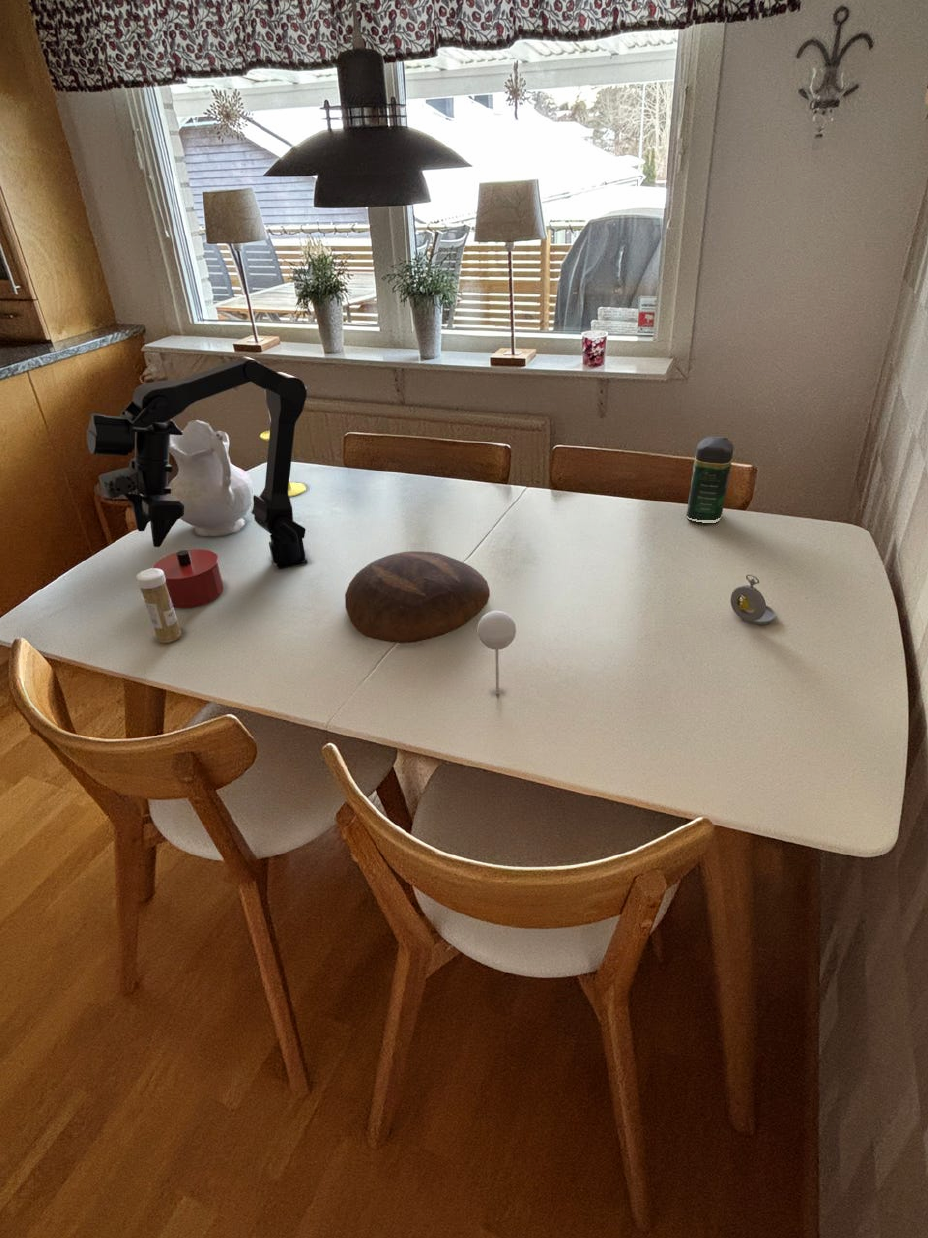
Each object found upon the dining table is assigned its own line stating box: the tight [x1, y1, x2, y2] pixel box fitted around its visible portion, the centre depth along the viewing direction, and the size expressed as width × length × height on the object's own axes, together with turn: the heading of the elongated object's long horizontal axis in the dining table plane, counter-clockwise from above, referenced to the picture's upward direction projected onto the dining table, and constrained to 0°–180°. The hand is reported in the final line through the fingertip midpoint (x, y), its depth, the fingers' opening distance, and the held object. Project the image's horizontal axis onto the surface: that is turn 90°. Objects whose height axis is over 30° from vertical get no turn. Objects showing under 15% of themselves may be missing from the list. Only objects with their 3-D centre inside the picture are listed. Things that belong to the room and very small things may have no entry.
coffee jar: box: [686, 435, 734, 526], centre depth 163 cm, size 10×8×19 cm
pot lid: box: [152, 548, 220, 581], centre depth 143 cm, size 13×13×4 cm
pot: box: [166, 563, 224, 609], centre depth 145 cm, size 12×12×6 cm
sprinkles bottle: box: [136, 567, 182, 644], centre depth 130 cm, size 5×5×14 cm
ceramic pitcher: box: [166, 419, 254, 537], centre depth 167 cm, size 22×20×25 cm
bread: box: [344, 550, 491, 644], centre depth 137 cm, size 28×27×9 cm
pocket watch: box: [729, 574, 777, 625], centre depth 129 cm, size 8×8×10 cm
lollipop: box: [476, 610, 517, 695], centre depth 112 cm, size 6×6×15 cm
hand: (148, 538), depth 136 cm, fingers open, 9 cm apart
